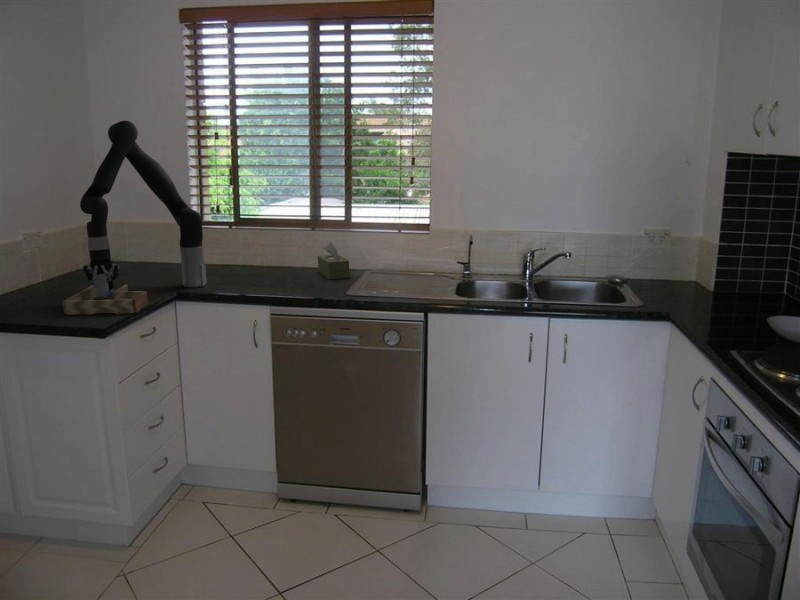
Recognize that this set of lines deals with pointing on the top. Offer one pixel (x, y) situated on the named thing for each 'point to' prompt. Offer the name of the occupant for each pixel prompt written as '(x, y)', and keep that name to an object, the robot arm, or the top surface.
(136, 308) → the channel
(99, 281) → the medicine box
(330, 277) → the tissue box
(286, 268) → the top surface
